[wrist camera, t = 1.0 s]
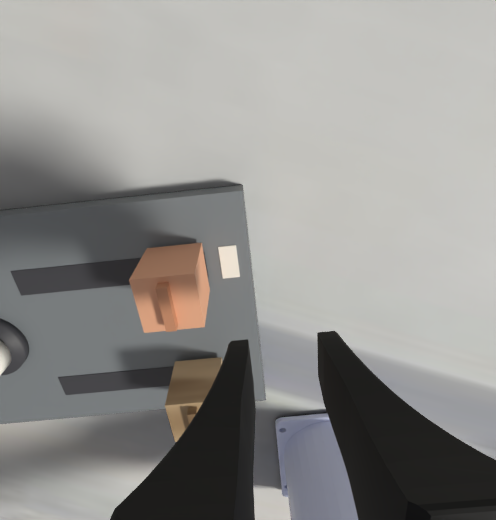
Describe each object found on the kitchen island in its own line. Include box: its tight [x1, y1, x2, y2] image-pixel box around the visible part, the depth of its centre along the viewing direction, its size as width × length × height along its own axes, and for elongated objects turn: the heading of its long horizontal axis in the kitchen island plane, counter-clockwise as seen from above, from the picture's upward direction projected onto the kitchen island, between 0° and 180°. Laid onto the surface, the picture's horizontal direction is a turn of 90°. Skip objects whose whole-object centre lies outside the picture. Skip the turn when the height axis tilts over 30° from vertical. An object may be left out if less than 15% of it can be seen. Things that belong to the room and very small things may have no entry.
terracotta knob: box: [129, 243, 210, 333], centre depth 18 cm, size 3×3×4 cm
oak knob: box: [165, 357, 222, 442], centre depth 22 cm, size 3×3×4 cm
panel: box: [0, 185, 266, 424], centre depth 22 cm, size 15×19×2 cm
